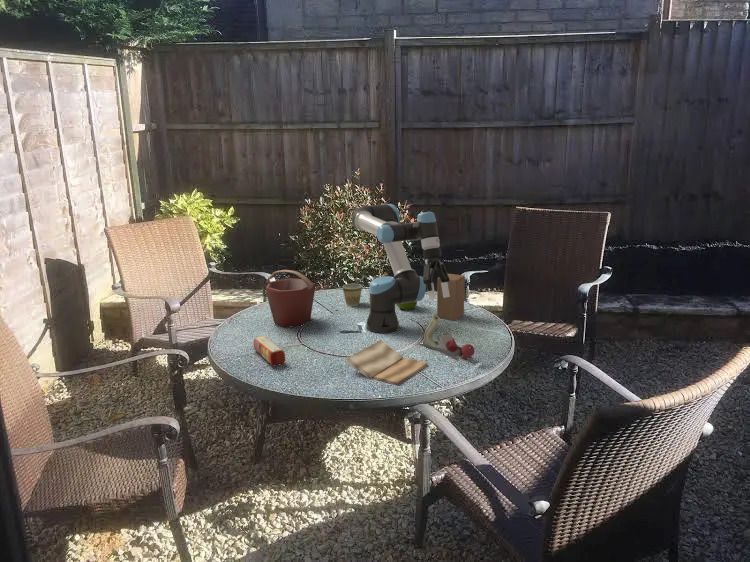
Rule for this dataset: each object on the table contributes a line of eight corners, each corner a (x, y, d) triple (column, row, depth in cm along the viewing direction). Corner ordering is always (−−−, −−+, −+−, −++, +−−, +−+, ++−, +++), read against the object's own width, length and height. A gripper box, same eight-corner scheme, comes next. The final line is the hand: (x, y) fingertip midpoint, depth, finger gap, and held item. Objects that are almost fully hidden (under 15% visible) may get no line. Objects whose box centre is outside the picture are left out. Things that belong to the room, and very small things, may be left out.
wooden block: (464, 315, 308) (465, 275, 303) (455, 320, 300) (456, 280, 295) (445, 311, 313) (446, 273, 308) (436, 317, 305) (437, 277, 300)
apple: (393, 306, 324) (392, 285, 321) (412, 303, 327) (412, 283, 324) (400, 312, 314) (400, 291, 311) (420, 310, 317) (420, 289, 314)
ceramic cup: (355, 308, 321) (354, 289, 318) (339, 305, 326) (338, 287, 324) (369, 302, 331) (368, 283, 329) (353, 299, 337) (353, 281, 334)
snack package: (252, 351, 267) (251, 336, 265) (267, 348, 270) (266, 333, 269) (270, 368, 249) (269, 352, 248) (286, 364, 252) (285, 348, 251)
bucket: (258, 321, 304) (255, 271, 297) (294, 310, 319) (291, 262, 313) (291, 332, 288) (288, 280, 281) (327, 320, 303) (325, 270, 297)
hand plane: (430, 341, 276) (430, 308, 272) (478, 363, 251) (479, 327, 247) (417, 344, 272) (417, 311, 268) (465, 367, 247) (466, 331, 243)
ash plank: (346, 361, 240) (348, 357, 240) (378, 343, 258) (380, 340, 257) (372, 381, 236) (373, 377, 235) (403, 362, 253) (404, 358, 252)
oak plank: (374, 381, 235) (374, 376, 234) (405, 362, 252) (405, 357, 252) (397, 387, 229) (397, 382, 229) (427, 367, 247) (427, 362, 246)
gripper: (425, 246, 255) (434, 298, 253) (451, 247, 276) (459, 295, 274) (409, 249, 258) (417, 300, 257) (436, 250, 280) (444, 298, 278)
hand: (439, 298), depth 266 cm, fingers open, 13 cm apart
